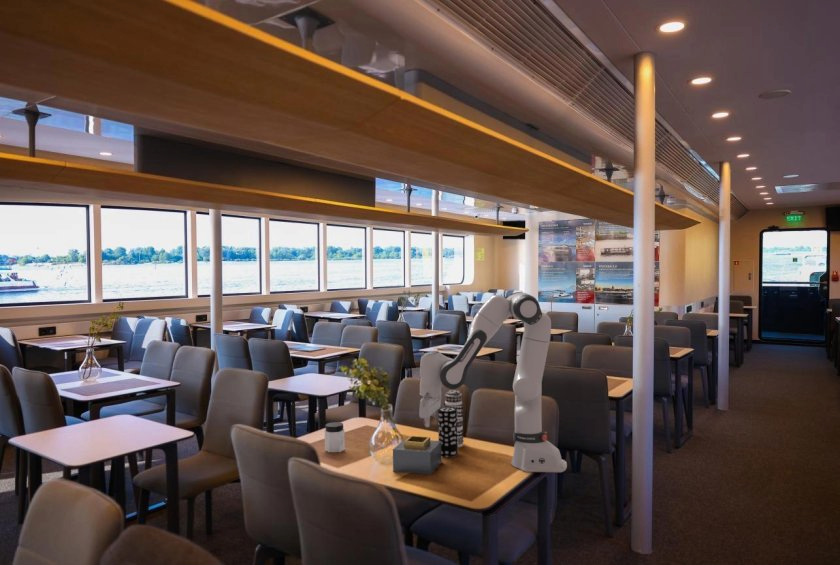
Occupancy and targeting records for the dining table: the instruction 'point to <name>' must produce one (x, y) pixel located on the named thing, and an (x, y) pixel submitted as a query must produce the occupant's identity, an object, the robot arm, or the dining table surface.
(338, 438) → the jar
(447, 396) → the black and white canister
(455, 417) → the spotted tube
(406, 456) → the blue-grey block
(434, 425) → the brown ball
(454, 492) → the dining table surface
